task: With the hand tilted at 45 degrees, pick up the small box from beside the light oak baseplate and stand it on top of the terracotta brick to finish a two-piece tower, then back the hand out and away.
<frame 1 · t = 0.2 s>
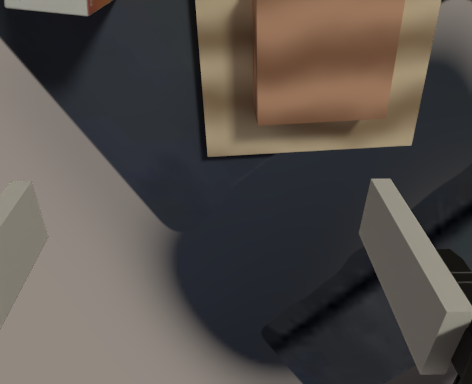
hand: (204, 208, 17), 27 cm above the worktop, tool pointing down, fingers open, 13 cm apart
tower base: (314, 42, 40), on the worktop
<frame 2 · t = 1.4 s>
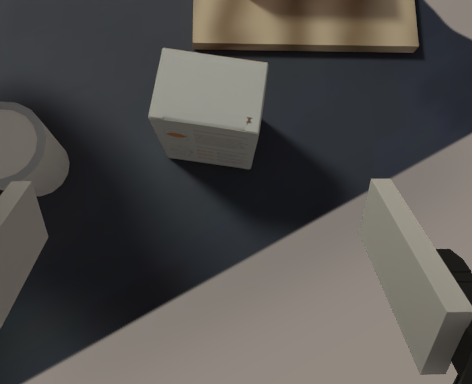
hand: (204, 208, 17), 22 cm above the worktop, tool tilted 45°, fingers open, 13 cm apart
small box: (213, 137, 40), on the worktop
shot glass: (39, 167, 39), on the worktop
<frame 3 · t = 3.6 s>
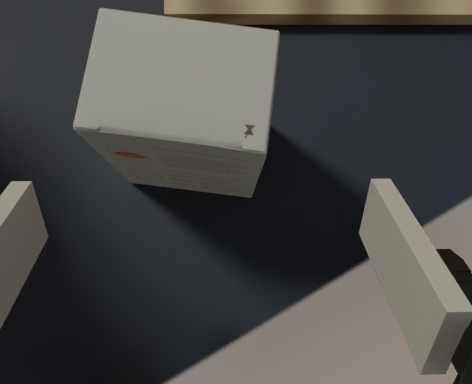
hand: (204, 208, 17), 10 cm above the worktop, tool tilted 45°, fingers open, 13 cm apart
small box: (196, 151, 28), on the worktop
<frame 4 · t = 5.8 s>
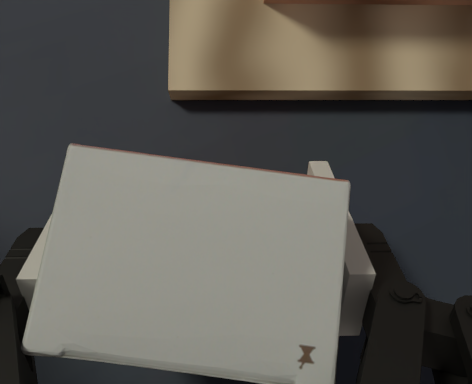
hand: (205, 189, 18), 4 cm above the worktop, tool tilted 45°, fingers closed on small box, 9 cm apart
small box: (208, 269, 21), on the worktop, touching gripper
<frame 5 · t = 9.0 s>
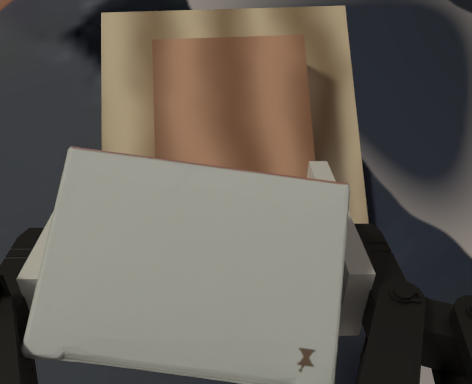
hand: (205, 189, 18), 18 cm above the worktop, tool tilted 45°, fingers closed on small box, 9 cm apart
tower base: (231, 130, 37), on the worktop
small box: (208, 271, 21), point 14 cm above the worktop, touching gripper
when the fingers open (10 cm above the worktop, at t = 12.1 s): small box drops 1 cm, resting on tower base.
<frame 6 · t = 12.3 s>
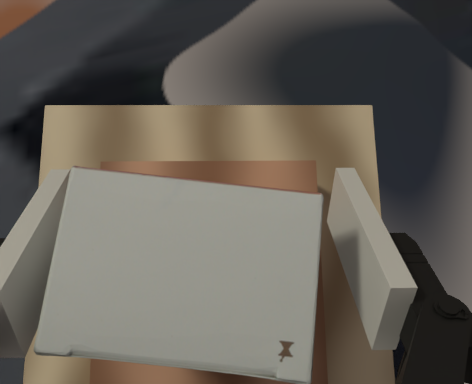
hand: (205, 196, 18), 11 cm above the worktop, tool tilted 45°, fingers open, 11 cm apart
tower base: (211, 271, 28), on the worktop
small box: (203, 273, 23), point 5 cm above the worktop, touching tower base
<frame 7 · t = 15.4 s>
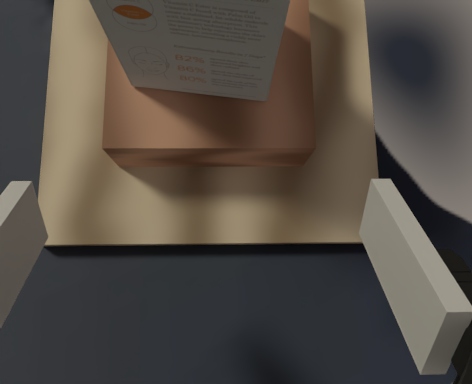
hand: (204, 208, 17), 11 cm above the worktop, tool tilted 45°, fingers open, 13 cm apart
tower base: (211, 89, 30), on the worktop
small box: (204, 54, 25), point 5 cm above the worktop, touching tower base
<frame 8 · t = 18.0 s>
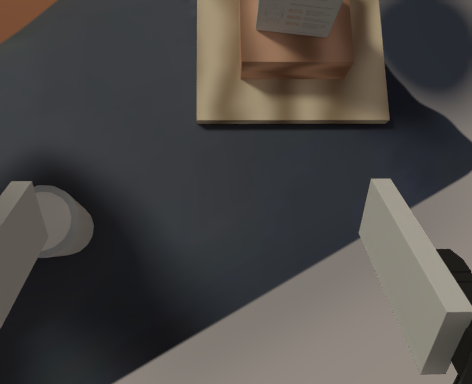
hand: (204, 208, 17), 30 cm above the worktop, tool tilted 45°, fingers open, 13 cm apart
tower base: (288, 37, 51), on the worktop
small box: (292, 13, 46), point 5 cm above the worktop, touching tower base
shot glass: (68, 229, 46), on the worktop
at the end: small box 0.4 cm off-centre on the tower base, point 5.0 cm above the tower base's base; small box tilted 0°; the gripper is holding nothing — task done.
